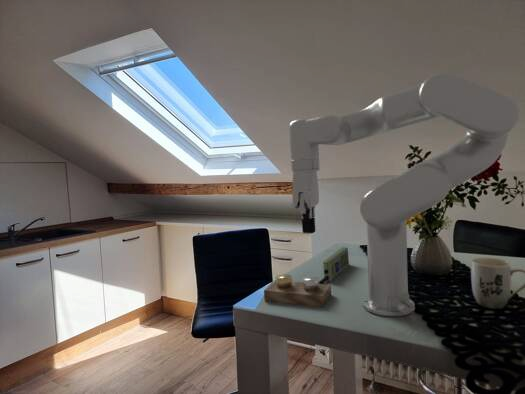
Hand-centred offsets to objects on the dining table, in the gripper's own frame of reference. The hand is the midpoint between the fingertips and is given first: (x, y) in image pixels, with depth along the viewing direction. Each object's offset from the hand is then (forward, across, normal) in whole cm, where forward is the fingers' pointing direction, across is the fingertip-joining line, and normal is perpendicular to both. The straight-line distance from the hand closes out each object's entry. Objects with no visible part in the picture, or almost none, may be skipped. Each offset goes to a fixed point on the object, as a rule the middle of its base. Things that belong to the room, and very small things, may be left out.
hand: (309, 232), depth 101 cm
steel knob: (+19, 0, 0) cm, 19 cm away
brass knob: (+19, 0, -8) cm, 20 cm away
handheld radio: (+20, -23, +1) cm, 30 cm away
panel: (+19, 0, -4) cm, 19 cm away
